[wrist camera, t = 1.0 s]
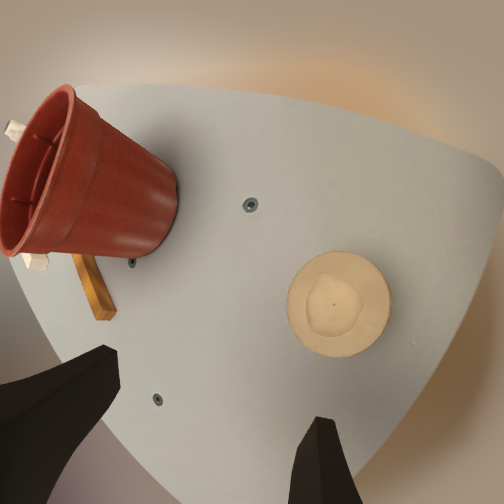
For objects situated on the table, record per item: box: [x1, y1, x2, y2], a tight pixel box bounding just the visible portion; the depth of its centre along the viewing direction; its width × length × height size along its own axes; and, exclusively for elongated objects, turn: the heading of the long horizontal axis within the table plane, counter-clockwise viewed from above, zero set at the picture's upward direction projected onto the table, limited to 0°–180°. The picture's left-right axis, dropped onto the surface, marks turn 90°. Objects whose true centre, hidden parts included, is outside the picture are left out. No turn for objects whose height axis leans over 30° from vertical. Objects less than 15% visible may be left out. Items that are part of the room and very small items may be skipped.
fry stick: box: [71, 253, 116, 320], centre depth 37 cm, size 14×2×2 cm, turn 40°
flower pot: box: [0, 84, 178, 259], centre depth 28 cm, size 16×16×16 cm
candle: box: [287, 251, 392, 358], centre depth 18 cm, size 6×6×10 cm
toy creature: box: [4, 120, 27, 143], centre depth 52 cm, size 12×6×12 cm, turn 64°
